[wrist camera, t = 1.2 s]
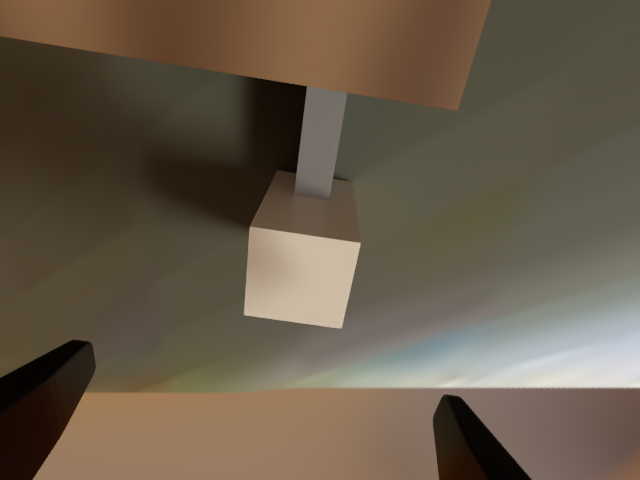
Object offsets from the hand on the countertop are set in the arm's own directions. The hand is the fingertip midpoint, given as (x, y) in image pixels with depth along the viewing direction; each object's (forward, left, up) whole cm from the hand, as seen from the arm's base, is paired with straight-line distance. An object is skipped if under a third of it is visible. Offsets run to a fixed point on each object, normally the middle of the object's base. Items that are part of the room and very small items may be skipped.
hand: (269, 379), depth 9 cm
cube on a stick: (0, -6, -12) cm, 13 cm away
